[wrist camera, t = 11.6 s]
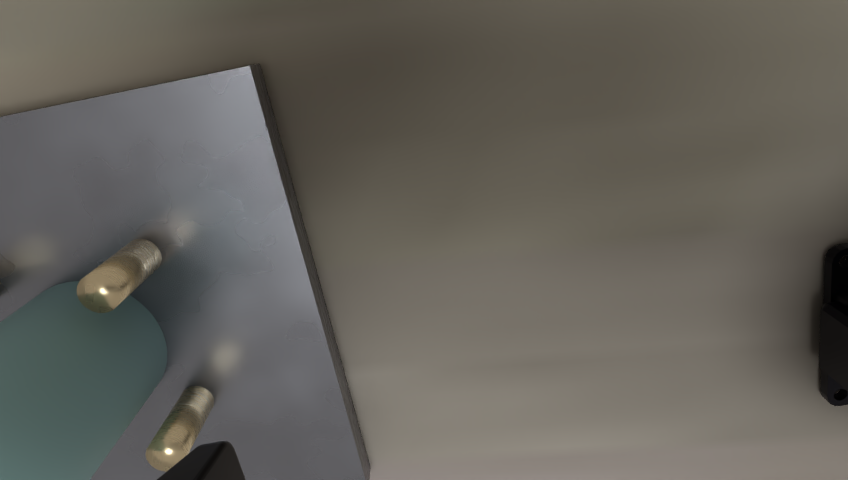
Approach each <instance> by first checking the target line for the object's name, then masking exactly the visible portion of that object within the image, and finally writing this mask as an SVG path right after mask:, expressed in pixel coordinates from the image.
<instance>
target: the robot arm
mask: <svg viewBox="0 0 848 480" xmlns="http://www.w3.org/2000/svg"><path fill="white" fill-rule="evenodd" d="M845 255H846V259H845V261H844V262H843V263H840V264H839V261H840V259H841V258H842V257H843V256H845ZM819 367H820V368H821V395H822V396H823V397H824V398H825V399H826V400H827V401H828V402H829V403H830V404H832V405H834V406H842V405H848V243H844V244H839V245H836V246H834V247H833V248H831V249H830V250H829V251H828V253H827V254H826V257H825V266H824V297H823V307H822V309H821V314H820V347H819ZM839 389H840V391H839V392H838V393H836V394H835V392H836V391H837V390H839ZM157 480H246V479H245V476H244V473H243V471H242V468H241V465H240V463H239V460H238V457H237V454H236V452H235V449H234V447H233V446H232V444H231V443H230V442H228V441H219V442H213V443H207V444H202V445H199V446H197V447H196V448H195V449H194V450H192V451H191V452H190V453H189V454H187V455H186V456H185V457H184V458H183V459H181V460H180V461H179V462H178V463H176V464H175V465H174V466H173V467H172V468H170V469H169V470H168V471H167V472H165V473H164V474H163V475H162V476H161V477H159V478H158V479H157Z"/></svg>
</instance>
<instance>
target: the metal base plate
mask: <svg viewBox="0 0 848 480" xmlns="http://www.w3.org/2000/svg"><path fill="white" fill-rule="evenodd" d="M72 281H79V283H78V285H77V296H78V299H79V300H80V302H81V303H82V304H83V305H84V306H85V307H86V308H87V309H89V310H91V311H93V312H97V313H107V312H110V311H112V310H114V309H115V308H116V307H117V306H118V305H119V304H120V303H121V302H122V301H123V300H124V299H126V298H127V297H128V296H129V295H130V296H132V297H134V298H135V299H136V300H137V301H139V302H140V303H141V304H142V305H143V306H144V307H145V308H147V309H148V310H149V312H150V313H151V314H152V315H153V317H154V318H155V319H156V321H157V323H158V324H159V326H160V328H161V330H162V332H163V334H164V338H165V341H166V346H167V364H166V369H165V372H164V375H163V377H162V379H161V381H160V382H159V384H158V385H157V386H156V388H155V389H154V391H153V392H152V393H151V395H150V396H149V398H148V399H147V400H146V402H145V403H144V405H143V406H142V407H141V409H140V410H139V412H138V413H137V414H136V416H135V417H134V419H133V420H132V421H131V423H130V424H129V426H128V427H127V428H126V430H125V431H124V433H123V434H122V435H121V437H120V438H119V440H118V441H117V442H116V444H115V445H114V447H113V448H112V449H111V451H110V452H109V454H108V455H107V456H106V458H105V459H104V461H103V462H102V463H101V465H100V466H99V468H98V469H97V470H96V472H95V473H94V475H93V476H92V477H91V479H90V480H157V479H158V478H159V477H161V476H162V475H163V474H164V473H165V472H167V471H168V470H169V469H170V468H172V467H173V466H174V465H175V464H176V463H178V462H179V461H180V460H181V459H183V458H184V457H185V456H186V455H187V454H189V453H190V452H191V451H192V450H194V449H195V448H196V447H197V446H199V445H202V444H207V443H213V442H219V441H228V442H230V443H231V444H232V446H233V447H234V449H235V452H236V454H237V457H238V460H239V463H240V465H241V468H242V471H243V473H244V476H245V479H246V480H369V478H370V465H369V461H368V457H367V454H366V450H365V447H364V443H363V439H362V436H361V432H360V428H359V425H358V421H357V417H356V414H355V410H354V406H353V403H352V399H351V396H350V392H349V388H348V385H347V381H346V377H345V374H344V370H343V366H342V363H341V359H340V355H339V352H338V348H337V344H336V341H335V337H334V334H333V330H332V326H331V323H330V319H329V315H328V312H327V308H326V304H325V301H324V297H323V293H322V290H321V286H320V282H319V279H318V275H317V272H316V268H315V264H314V261H313V257H312V253H311V250H310V246H309V242H308V239H307V235H306V231H305V228H304V224H303V221H302V217H301V213H300V210H299V206H298V202H297V199H296V195H295V191H294V188H293V184H292V180H291V177H290V173H289V169H288V166H287V162H286V159H285V155H284V151H283V148H282V144H281V140H280V137H279V133H278V129H277V126H276V122H275V118H274V115H273V111H272V107H271V104H270V100H269V97H268V93H267V89H266V86H265V82H264V78H263V75H262V71H261V67H260V64H254V65H249V66H245V67H240V68H235V69H230V70H225V71H220V72H215V73H210V74H206V75H201V76H196V77H191V78H186V79H181V80H176V81H171V82H167V83H162V84H157V85H152V86H147V87H142V88H137V89H132V90H128V91H123V92H118V93H113V94H108V95H103V96H98V97H93V98H89V99H84V100H79V101H74V102H69V103H64V104H59V105H54V106H50V107H45V108H40V109H35V110H30V111H25V112H20V113H15V114H11V115H6V116H1V117H0V322H1V321H3V320H4V319H6V318H7V317H8V316H10V315H11V314H13V313H14V312H15V311H17V310H18V309H20V308H21V307H22V306H24V305H25V304H26V303H28V302H29V301H31V300H32V299H33V298H35V297H36V296H38V295H39V294H40V293H42V292H43V291H45V290H47V289H48V288H51V287H53V286H55V285H58V284H62V283H66V282H72Z"/></svg>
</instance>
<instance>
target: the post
mask: <svg viewBox="0 0 848 480" xmlns="http://www.w3.org/2000/svg"><path fill="white" fill-rule="evenodd" d="M78 283H79V281H72V282H66V283H62V284H58V285H55V286H53V287H51V288H48V289H47V290H45V291H43V292H42V293H40V294H39V295H38V296H36V297H35V298H33V299H32V300H31V301H29V302H28V303H26V304H25V305H24V306H22V307H21V308H20V309H18V310H17V311H15V312H14V313H13V314H11V315H10V316H8V317H7V318H6V319H4V320H3V321H1V322H0V480H90V479H91V477H92V476H93V475H94V473H95V472H96V470H97V469H98V468H99V466H100V465H101V463H102V462H103V461H104V459H105V458H106V456H107V455H108V454H109V452H110V451H111V449H112V448H113V447H114V445H115V444H116V442H117V441H118V440H119V438H120V437H121V435H122V434H123V433H124V431H125V430H126V428H127V427H128V426H129V424H130V423H131V421H132V420H133V419H134V417H135V416H136V414H137V413H138V412H139V410H140V409H141V407H142V406H143V405H144V403H145V402H146V400H147V399H148V398H149V396H150V395H151V393H152V392H153V391H154V389H155V388H156V386H157V385H158V384H159V382H160V381H161V379H162V377H163V375H164V372H165V369H166V364H167V346H166V341H165V338H164V334H163V332H162V330H161V328H160V326H159V324H158V323H157V321H156V319H155V318H154V317H153V315H152V314H151V313H150V312H149V310H148V309H147V308H145V307H144V306H143V305H142V304H141V303H140V302H139V301H137V300H136V299H135V298H134V297H132V296H130V295H129V296H128V297H127V298H126V299H124V300H123V301H122V302H121V303H120V304H119V305H118V306H117V307H116V308H115V309H114V310H112V311H110V312H107V313H97V312H93V311H91V310H89V309H87V308H86V307H85V306H84V305H83V304H82V303H81V302H80V300H79V299H78V296H77V285H78Z"/></svg>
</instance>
